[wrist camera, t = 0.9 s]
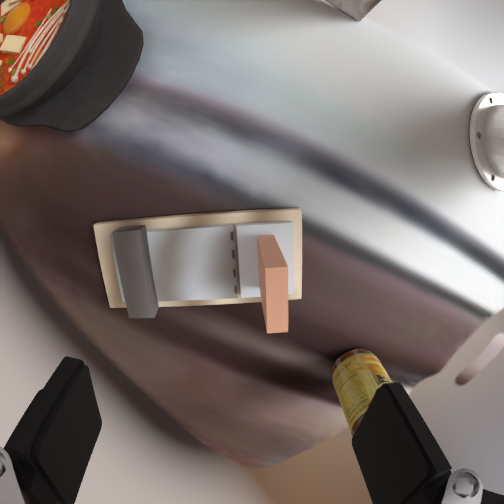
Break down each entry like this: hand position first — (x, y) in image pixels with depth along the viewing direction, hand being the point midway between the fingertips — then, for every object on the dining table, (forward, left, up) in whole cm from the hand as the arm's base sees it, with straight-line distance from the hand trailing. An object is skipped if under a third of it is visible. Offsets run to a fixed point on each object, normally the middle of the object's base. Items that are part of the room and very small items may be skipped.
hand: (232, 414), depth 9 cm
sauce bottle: (-13, +17, -22) cm, 31 cm away
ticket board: (+4, +2, -22) cm, 22 cm away
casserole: (+19, -22, -22) cm, 37 cm away
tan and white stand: (-3, +2, -21) cm, 21 cm away
